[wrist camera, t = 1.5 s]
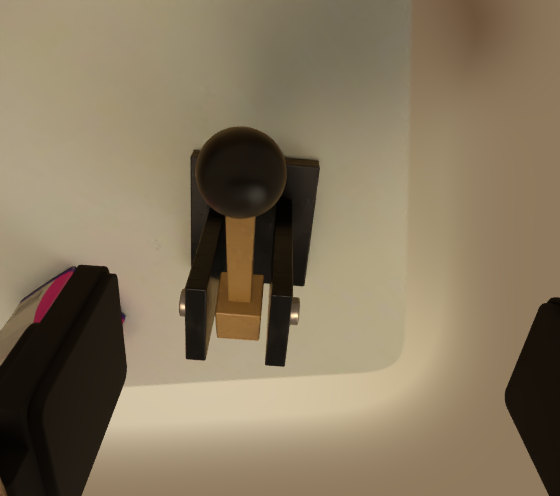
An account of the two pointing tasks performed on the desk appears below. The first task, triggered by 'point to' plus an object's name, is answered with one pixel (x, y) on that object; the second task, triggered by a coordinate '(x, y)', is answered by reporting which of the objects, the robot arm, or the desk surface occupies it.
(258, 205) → the switch lever
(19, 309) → the supplement box
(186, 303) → the switch bracket
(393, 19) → the desk surface
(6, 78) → the desk surface
